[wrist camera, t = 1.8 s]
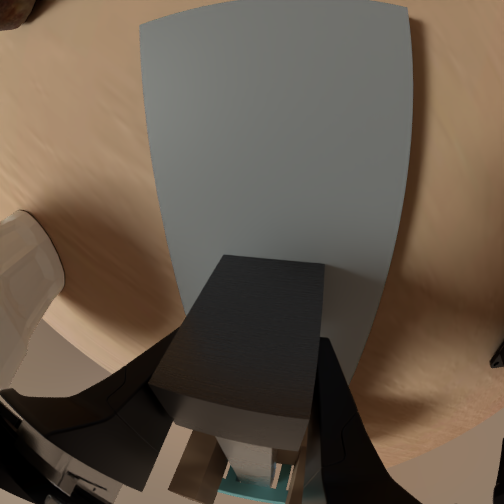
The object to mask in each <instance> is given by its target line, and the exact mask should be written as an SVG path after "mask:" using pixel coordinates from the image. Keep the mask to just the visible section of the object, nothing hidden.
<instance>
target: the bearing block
mask: <svg viewBox="0 0 504 504" xmlns="http://www.w3.org/2000/svg"><path fill="white" fill-rule="evenodd" d="M307 433H308V425H307V428H306V431H305V434H304V437H303V440H302V443H301V446H300V448H299V451H298V452H297V451H289V450H282V449H278V453H277V462H276V463H280V464H287V465H294V469H293V473H292V478H291V482H290V486H289V490H288V494H287V498H286V502H285V504H302V496H303V486H304V476H305V463H306V449H307ZM227 463H228V459H227V457H226V455H225V454H224V452H223V450H222V448H221V446H220V444H219V442H218V441H217V439H216V437H215V436H213V435H209V434H205V433H202V432H198V431H195V430H193V431H192V434H191V436H190V439H189V441H188V443H187V446H186V448H185V451H184V453H183V455H182V458H181V460H180V463H179V465H178V467H177V469H176V472H175V474H174V477H173V479H172V481H171V483H170V486H169V488H168V490H169V491H171V492H174V493H176V494H178V495H181V496H183V497H185V498H188V499H190V500H193V501H196V502H199V503H202V504H213V503H214V500H215V497H216V495H217V492H218V489H219V486H220V483H221V481H222V478H223V474H224V472H225V469H226V466H227Z"/></svg>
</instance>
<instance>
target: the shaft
mask: <svg viewBox="0 0 504 504" xmlns="http://www.w3.org/2000/svg"><path fill="white" fill-rule="evenodd" d="M324 273H325V264H322V263H311V262H300V261H289V260H278V259H267V258H256V257H246V256H235V255H224V254H223V256H222V258H221V259H220V261H219V263H218V264H217V266H216V267H215V269H214V271H213V272H212V274H211V276H210V277H209V279H208V281H207V282H206V284H205V286H204V287H203V289H202V291H201V292H200V294H199V296H198V298H197V299H196V301H195V303H194V304H193V306H192V308H191V309H190V311H189V313H188V314H187V316H186V318H185V320H184V321H183V323H182V325H181V326H180V328H179V330H178V332H177V333H176V335H175V337H174V338H173V340H172V342H171V344H170V345H169V347H168V349H167V351H166V352H165V354H164V356H163V358H162V359H161V361H160V363H159V365H158V366H157V368H156V370H155V372H154V373H153V375H152V377H151V379H150V380H149V382H148V385H149V386H150V388H151V389H152V391H153V392H154V394H155V395H156V397H157V398H158V400H159V401H160V403H161V404H162V406H163V407H164V409H165V410H166V412H167V413H168V414H169V416H170V417H171V419H172V420H173V421H174V422H175V424H176V425H179V426H182V427H186V428H189V429H192V430H195V431H198V432H202V433H205V434H209V435H213V436H215V437H216V439H217V441H218V442H219V444H220V446H221V448H222V450H223V452H224V454H225V455H226V457H227V459H228V461H229V463H230V464H231V466H232V468H233V470H234V471H235V473H236V475H237V477H238V478H239V480H240V482H241V483H246V484H251V485H256V486H261V487H267V488H271V487H272V483H273V480H274V476H275V469H276V462H277V453H278V449H282V450H289V451H297V452H298V451H299V448H300V446H301V443H302V440H303V437H304V434H305V431H306V428H307V425H308V422H309V419H310V412H311V406H312V399H313V392H314V385H315V377H316V369H317V360H318V351H319V341H320V330H321V319H322V306H323V291H324Z"/></svg>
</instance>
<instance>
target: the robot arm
mask: <svg viewBox="0 0 504 504" xmlns="http://www.w3.org/2000/svg"><path fill="white" fill-rule="evenodd" d="M179 328H180V327H179ZM179 328H177V329H176V330H174V331H173V332H172V333H170V334H169V335H167V336H166V337H165V338H163V339H162V340H160V341H159V342H158V343H156V344H155V345H154V346H152V347H151V348H149V349H148V350H147V351H145V352H144V353H142V354H141V355H139V356H138V357H137V358H135V359H134V360H132V361H131V362H130V363H128V364H127V365H126V366H124V367H122V368H121V369H120V370H118V371H117V372H115V373H114V374H112V375H111V376H109V377H107V378H106V379H104V380H103V381H101V382H99V383H97V384H95V385H93V386H91V387H90V388H88V389H86V390H84V391H82V392H80V393H79V394H76V395H74V396H70V397H55V398H54V397H52V398H51V397H27V396H23V395H20V394H19V393H18V392H16V390H14V389H13V388H10V389H3V390H1V391H0V395H1V397H2V398H3V399H4V400H5V401H6V402H7V403H8V404H9V405H10V406H11V407H12V408H13V409H14V410H15V411H16V412H17V413H18V414H19V415H20V416H21V417H22V418H23V420H21V419H20V418H19V417H18V416H17V415H15V414H14V413H13V412H12V411H11V410H10V409H9V408H8V407H6V406H5V405H4V404H3V403H2V402H1V401H0V488H1V489H3V490H5V491H7V492H9V493H12V494H14V495H16V496H18V497H20V498H23V499H25V500H27V501H30V502H32V503H35V504H114V501H115V499H116V497H117V495H118V493H119V491H120V489H121V487H122V485H123V484H124V485H126V486H129V487H131V488H134V489H136V490H138V491H140V492H142V491H143V489H144V487H145V485H146V482H147V480H148V478H149V475H150V473H151V471H152V468H153V466H154V464H155V461H156V459H157V457H158V454H159V452H160V450H161V447H162V445H163V443H164V440H165V438H166V436H167V433H168V431H169V429H170V427H171V424H172V422H173V420H172V419H171V417H170V416H169V414H168V413H167V412H166V410H165V409H164V407H163V406H162V404H161V403H160V401H159V400H158V398H157V397H156V395H155V394H154V392H153V391H152V389H151V388H150V386H149V385H148V382H149V380H150V379H151V377H152V375H153V373H154V372H155V370H156V368H157V366H158V365H159V363H160V361H161V359H162V358H163V356H164V354H165V352H166V351H167V349H168V347H169V345H170V344H171V342H172V340H173V338H174V337H175V335H176V333H177V332H178V330H179ZM490 366H491V368H498V367H504V342H503V343H502V345H501V346H500V348H499V349H498V350H497V352H496V353H495V355H494V356H493V357H492V359H491V360H490ZM302 504H422V503H421V502H419V501H418V500H417V499H415V498H414V497H413V496H412V495H411V494H409V493H408V492H407V491H406V490H405V489H403V488H402V487H401V486H400V485H399V484H398V483H396V482H395V481H394V480H393V479H392V477H391V476H390V475H389V473H388V472H387V470H386V468H385V467H384V465H383V463H382V461H381V459H380V457H379V455H378V454H377V452H376V450H375V448H374V446H373V444H372V442H371V440H370V438H369V436H368V434H367V432H366V430H365V427H364V425H363V422H362V420H361V417H360V415H359V412H358V410H357V407H356V404H355V402H354V399H353V396H352V394H351V391H350V389H349V386H348V384H347V381H346V378H345V376H344V373H343V371H342V368H341V366H340V363H339V361H338V358H337V356H336V353H335V351H334V349H333V346H332V344H331V341H330V339H329V338H328V337H320V341H319V351H318V360H317V369H316V377H315V385H314V392H313V399H312V406H311V412H310V419H309V422H308V433H307V449H306V463H305V476H304V486H303V496H302ZM493 504H504V438H503V442H502V451H501V458H500V465H499V471H498V476H497V481H496V486H495V488H494V492H493Z"/></svg>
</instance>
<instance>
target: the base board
mask: <svg viewBox="0 0 504 504" xmlns="http://www.w3.org/2000/svg"><path fill="white" fill-rule="evenodd" d="M140 54H141V70H142V83H143V95H144V105H145V114H146V123H147V131H148V138H149V145H150V152H151V159H152V165H153V172H154V178H155V183H156V189H157V195H158V200H159V205H160V210H161V215H162V220H163V225H164V230H165V235H166V239H167V244H168V248H169V252H170V257H171V261H172V265H173V269H174V273H175V277H176V281H177V285H178V289H179V293H180V296H181V300H182V304H183V307H184V311H185V314H186V316H187V314H188V313H189V311H190V309H191V308H192V306H193V304H194V303H195V301H196V299H197V298H198V296H199V294H200V292H201V291H202V289H203V287H204V286H205V284H206V282H207V281H208V279H209V277H210V276H211V274H212V272H213V271H214V269H215V267H216V266H217V264H218V263H219V261H220V259H221V258H222V256H223V254H224V255H235V256H246V257H256V258H267V259H278V260H289V261H300V262H311V263H322V264H325V273H324V291H323V306H322V319H321V330H320V337H328V338H329V339H330V341H331V344H332V346H333V349H334V351H335V353H336V356H337V358H338V361H339V363H340V366H341V368H342V371H343V373H344V376H345V378H346V381H347V384H348V386H349V384H350V382H351V379H352V377H353V374H354V372H355V370H356V367H357V365H358V362H359V360H360V357H361V355H362V352H363V349H364V347H365V344H366V341H367V338H368V336H369V333H370V330H371V327H372V324H373V321H374V318H375V315H376V312H377V309H378V306H379V303H380V299H381V296H382V293H383V289H384V286H385V282H386V278H387V275H388V271H389V267H390V263H391V259H392V255H393V251H394V246H395V242H396V237H397V233H398V228H399V223H400V218H401V212H402V207H403V201H404V195H405V188H406V181H407V173H408V165H409V156H410V145H411V133H412V114H413V63H412V46H411V34H410V25H409V16H408V9H407V7H403V6H398V5H393V4H388V3H383V2H377V1H370V0H237V1H230V2H224V3H218V4H213V5H208V6H203V7H199V8H195V9H190V10H186V11H183V12H179V13H175V14H172V15H168V16H165V17H162V18H159V19H156V20H153V21H150V22H147V23H144V24H141V25H140Z"/></svg>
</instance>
